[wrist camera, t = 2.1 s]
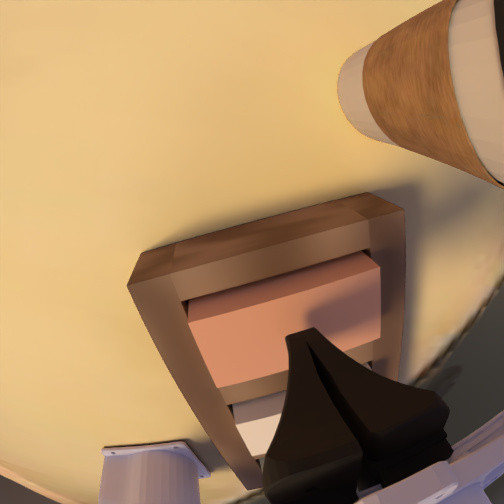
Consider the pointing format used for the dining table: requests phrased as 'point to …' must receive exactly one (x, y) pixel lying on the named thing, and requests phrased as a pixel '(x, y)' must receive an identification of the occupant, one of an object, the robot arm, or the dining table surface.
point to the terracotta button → (286, 316)
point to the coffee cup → (435, 86)
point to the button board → (256, 268)
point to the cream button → (260, 419)
